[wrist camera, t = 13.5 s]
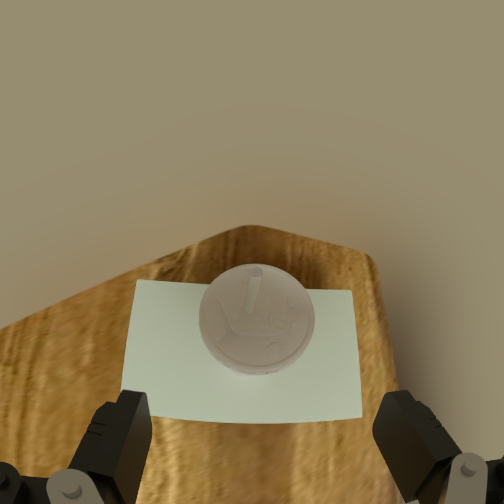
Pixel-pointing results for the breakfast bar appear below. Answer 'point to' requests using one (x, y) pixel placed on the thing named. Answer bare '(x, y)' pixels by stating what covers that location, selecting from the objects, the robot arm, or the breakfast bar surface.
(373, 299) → the breakfast bar surface
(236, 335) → the smoothie
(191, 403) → the small table
